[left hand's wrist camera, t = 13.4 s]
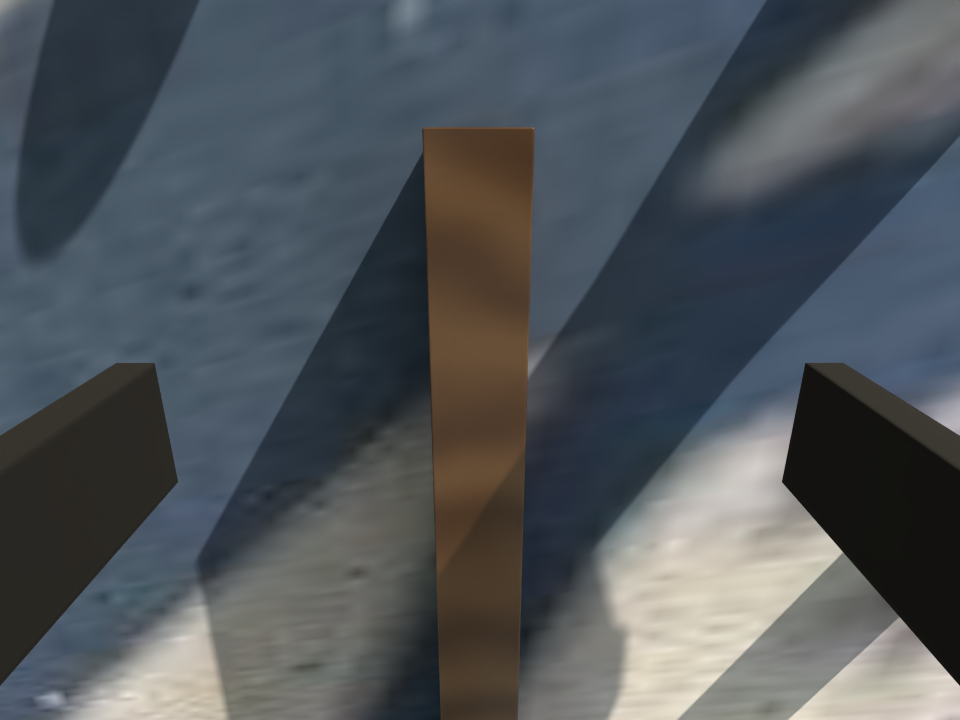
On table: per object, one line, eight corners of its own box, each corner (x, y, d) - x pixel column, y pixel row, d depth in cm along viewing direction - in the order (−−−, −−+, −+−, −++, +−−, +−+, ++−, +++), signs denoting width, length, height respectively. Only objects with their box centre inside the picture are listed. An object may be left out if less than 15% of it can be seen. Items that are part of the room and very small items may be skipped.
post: (434, 129, 35) (422, 127, 27) (522, 129, 35) (534, 127, 27) (451, 812, 54) (446, 922, 47) (507, 812, 54) (511, 922, 47)
